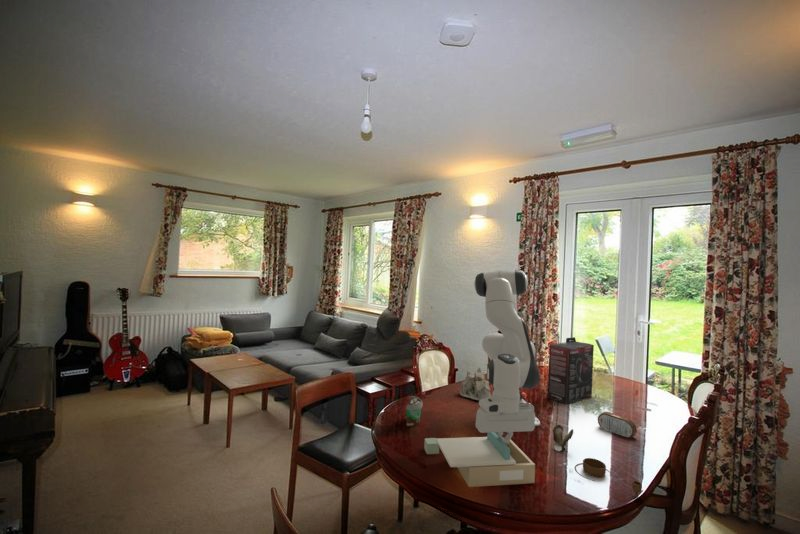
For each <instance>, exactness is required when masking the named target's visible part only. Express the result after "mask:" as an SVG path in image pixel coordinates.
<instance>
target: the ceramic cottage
mask: <svg viewBox="0 0 800 534" xmlns="http://www.w3.org/2000/svg"><path fill="white" fill-rule="evenodd" d="M490 390H491V387H490V382H489V381H488V380H487V379H486V377H485V372H484V371H482V368H481V367H478V368H477V371H474V377H472V375H471V370H467V371H466V377H465V379H464V380H463V381H462V382H461V389H460V391H459V396H462V397H464V398H468V399H471V400H476V401H479V400H481V399H484V398H486V397H489V396H491V395H492V394H491V392H490Z"/></svg>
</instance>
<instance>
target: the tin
mask: <svg viewBox="0 0 800 534" xmlns="http://www.w3.org/2000/svg"><path fill="white" fill-rule="evenodd" d="M597 424H598V426H599V427H600V429H602V430H605V431H607V432H611V433H613V434H616V435H620V436H621V437H626V438H628V439H632V438H634V437H636V435H637V432H638V429H637V427H636V425H635V423H634V422H633V421H632V420H631V419H629V418H628V417H625V416H622V415H618V414H615V413H613V412H611V411H603V412H601V413H600V414H599V415H598V417H597Z"/></svg>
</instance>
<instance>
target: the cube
mask: <svg viewBox="0 0 800 534" xmlns="http://www.w3.org/2000/svg"><path fill="white" fill-rule="evenodd" d="M436 439H438V438H437V437H429V438H428V437H426V438H424V447H423V448H424V449H423V450H424V452H425V453H426V455H440V447H439V445H438V443H437V441H436Z"/></svg>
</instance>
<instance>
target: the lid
mask: <svg viewBox="0 0 800 534" xmlns="http://www.w3.org/2000/svg"><path fill="white" fill-rule="evenodd" d="M436 441H437V443H438V445H439V450H441V452H442V455H443V456H444V458H445V460H446V462H447V463H448V465H449V467H450V468H457V467H467V466H488V465H509V464H516V461H515V460H514V459H513V458H512V457H511V455H510V448H509V447H508V446H507V445H506V444H505V443H504V442H503V441H502V440H501V439H500V437H499V436H498V434H497V432H491V433H487V434H486V436H472V437H471V436H470V437H469V436H468V437H467V436H466V437H443V438H441V437H440V438H437V439H436Z"/></svg>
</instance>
